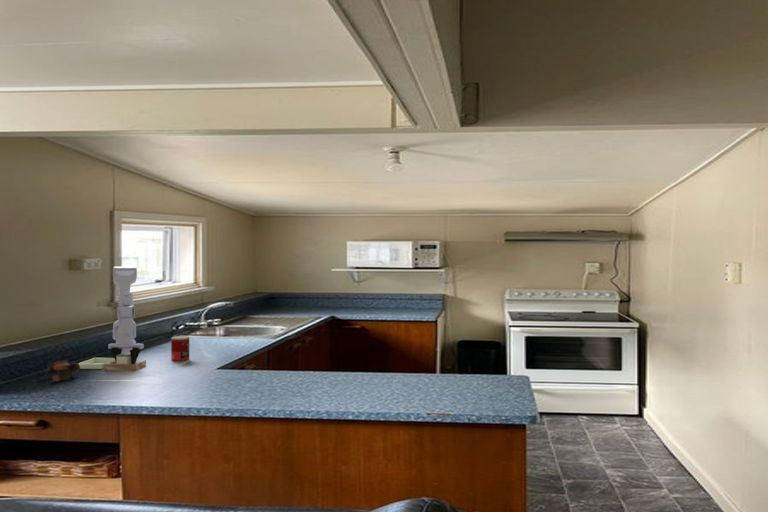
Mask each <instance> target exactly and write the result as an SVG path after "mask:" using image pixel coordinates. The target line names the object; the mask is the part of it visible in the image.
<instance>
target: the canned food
mask: <svg viewBox="0 0 768 512" xmlns="http://www.w3.org/2000/svg"><path fill="white" fill-rule="evenodd" d="M170 339H171V343H170V344H171V345H170V346H171V348H170V349H171V350H170V351H171V352H170V354H171V355H170V356H171V357H170V359H171V361H172V362H187V360H188V361H189V360H190V336H189V335H175V336H172V337H171V338H170Z"/></svg>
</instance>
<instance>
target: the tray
mask: <svg viewBox="0 0 768 512" xmlns="http://www.w3.org/2000/svg"><path fill="white" fill-rule="evenodd" d="M112 361H115V358H114V357H93V358H91V359H87V360H84V361H81V362H79V363H78V362H77V363H78V364H79V366H80V369H79V370H103V369H105V364H107V363H110V362H112Z"/></svg>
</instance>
